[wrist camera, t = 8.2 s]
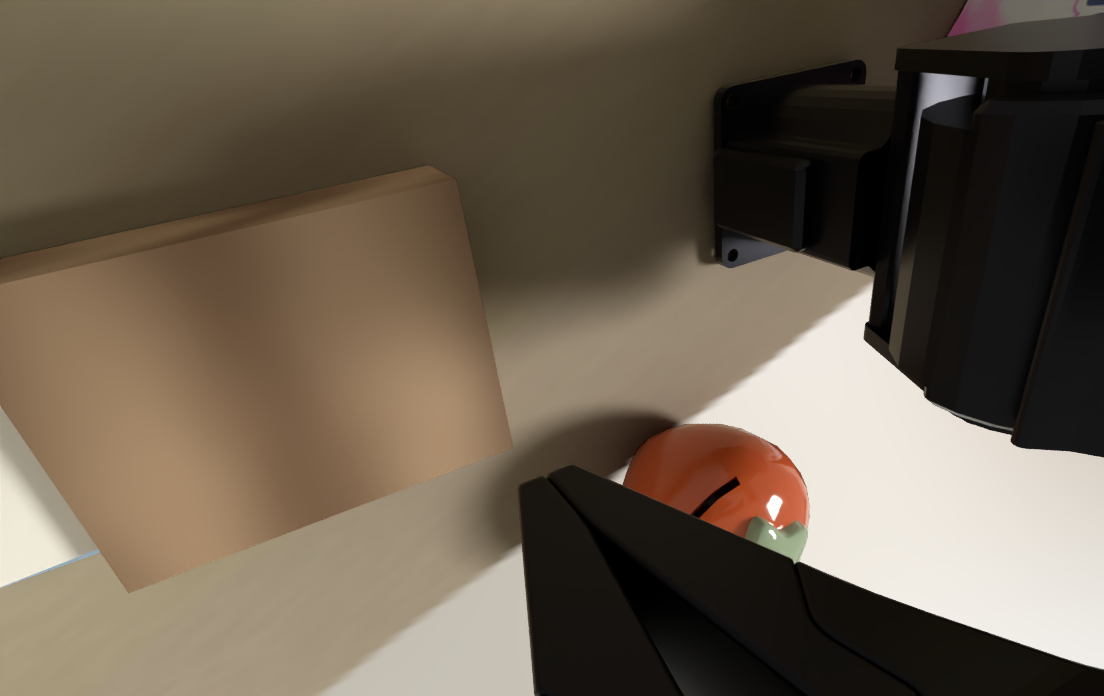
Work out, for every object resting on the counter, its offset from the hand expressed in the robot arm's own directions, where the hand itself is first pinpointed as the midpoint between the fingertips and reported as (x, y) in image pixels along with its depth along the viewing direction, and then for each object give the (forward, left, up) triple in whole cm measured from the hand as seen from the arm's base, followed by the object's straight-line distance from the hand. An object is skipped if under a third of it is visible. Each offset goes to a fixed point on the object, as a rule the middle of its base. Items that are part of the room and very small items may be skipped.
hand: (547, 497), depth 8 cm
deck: (+4, +1, -12) cm, 13 cm away
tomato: (-9, +12, -12) cm, 19 cm away
